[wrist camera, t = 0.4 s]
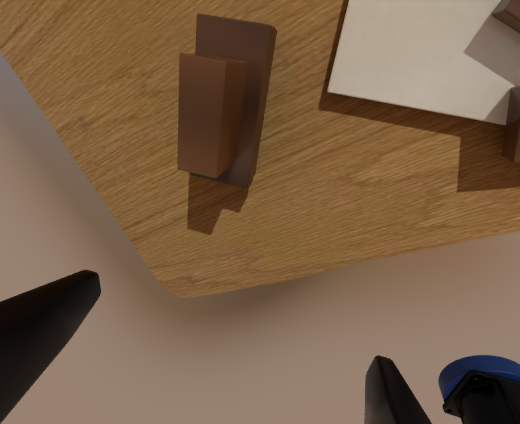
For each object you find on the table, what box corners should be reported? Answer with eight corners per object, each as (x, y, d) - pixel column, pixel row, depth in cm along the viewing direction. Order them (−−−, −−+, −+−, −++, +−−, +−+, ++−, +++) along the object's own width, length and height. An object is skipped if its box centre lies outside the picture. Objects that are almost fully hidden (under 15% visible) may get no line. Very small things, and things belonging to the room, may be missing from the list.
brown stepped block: (257, 175, 24) (229, 213, 18) (206, 163, 24) (161, 196, 18) (280, 30, 19) (252, 14, 13) (215, 19, 20) (159, 0, 13)
